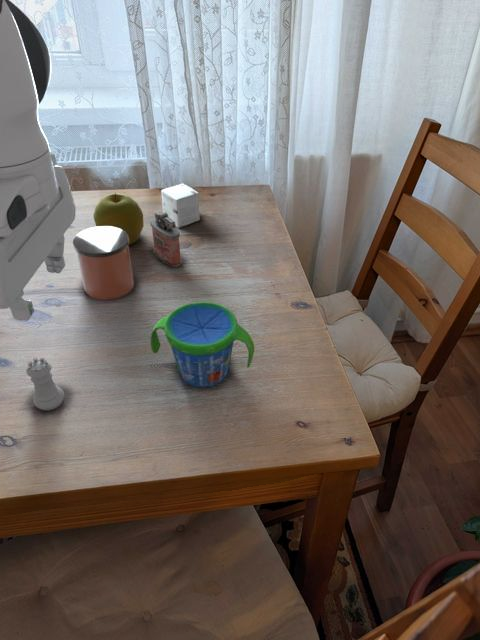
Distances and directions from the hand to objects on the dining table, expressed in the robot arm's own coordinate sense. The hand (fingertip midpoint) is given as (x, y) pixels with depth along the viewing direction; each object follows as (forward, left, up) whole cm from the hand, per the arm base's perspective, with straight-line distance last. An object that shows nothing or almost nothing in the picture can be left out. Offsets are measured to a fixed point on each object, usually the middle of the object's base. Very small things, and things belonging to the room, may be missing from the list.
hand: (41, 291), depth 61 cm
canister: (0, +30, -21) cm, 37 cm away
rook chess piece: (-4, +1, -21) cm, 21 cm away
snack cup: (+18, +7, -21) cm, 29 cm away
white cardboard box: (+12, +56, -21) cm, 61 cm away
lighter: (+10, +40, -21) cm, 47 cm away
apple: (0, +47, -21) cm, 52 cm away
